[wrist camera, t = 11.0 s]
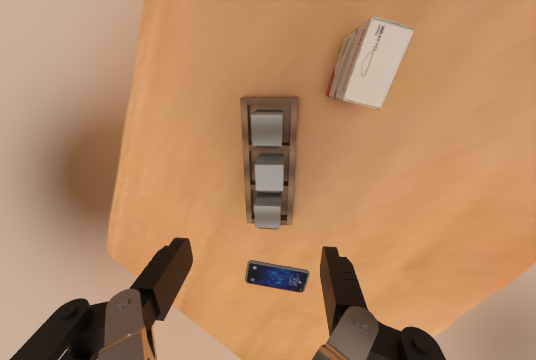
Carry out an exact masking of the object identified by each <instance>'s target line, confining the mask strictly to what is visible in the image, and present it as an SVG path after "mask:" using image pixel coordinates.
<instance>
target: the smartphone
mask: <svg viewBox="0 0 536 360" xmlns="http://www.w3.org/2000/svg"><path fill="white" fill-rule="evenodd" d="M308 277H309V272H308V271H307V270H303V269H297V268H291V267H286V266H280V265H275V264H269V263H264V262H258V261H252V260H251V261H249V262H248V265H247V271H246V278H245V280H246V282H247V283H250V284H255V285H261V286H266V287H272V288H277V289H283V290H288V291H294V292H299V293H301V292H304V290H305V287H306V284H307V280H308Z"/></svg>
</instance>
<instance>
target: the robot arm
mask: <svg viewBox="0 0 536 360" xmlns="http://www.w3.org/2000/svg"><path fill="white" fill-rule="evenodd" d="M192 263H193V256H192V251H191V246H190V241H189V239H188V238H174V239H173V241H172V242H171V243H170V245H169V246H164V247H163V248H162V249H160V250H159V251H158V252H157V253H156V254H155V256H154V257H153V258H152V260H151V261H150V262H149V263H148V266H146V267H145V269H144V270H143V271H142V273H141V274H140V275H139V277H138V278H137V279H136V281H135V282H134V283H133V285H132V286H131V287H130V289H126V290H123V291H121V292H119V293H118V294H116V295H115V296H113V297H112V298H111V299H110V301H108V302H103V303H99V304H94V305H90V304H89V303H88V301H87V300H86V299H75V300H72V301H70V302H68V303H66V304H64V305H62V306H61V307H60V308H58V309H57V310H56V311H55V312H54V313H53V314H52V315H51V316H50V317H49V319H48V320H47V321H46V322H45V323H44V324H43V325H42V326H41V327H40V328H39V329H38V330H37V331H36V332H35V333H34V334H33V335H32V337H31V338H30V339H29V340H28V341H27V342H26V343H25V344H24V345H23V346H22V347H21V349H19V350H18V352H17V353H16V354H15V355H14V356H13V357H12V358H11V359H10V360H58V359H59V358H60V356H61V355H62V354H63V353H64V351H65V350H66V349H67V351H66V352H65V353H64V355H63V356H62V357H61V359H60V360H97V359H98V360H157V356H156V348H155V341H154V335H153V329H152V325H153V324H154V322H155V320H160V321H164V319H165V317H166V315H167V313H168V311H169V309H170V307H171V305H172V304H173V302H174V300H175V298H176V296H177V294H178V292H179V290H180V288H181V286H182V284H183V282H184V280H185V278H186V277H187V275H188V273H189V271H190V269H191V266H192ZM320 278H321V284H322V290H323V297H324V303H325V310H326V316H327V322H328V329H329V335H330V338H329V339H328V341H327V343H326V344H325V345H322V346H321V347H320V348H319V349H318V351H317V352H316V354H315V356H314V357H313V359H312V360H446V359H445V357H444V355H443V353H442V351H441V349H440V347H439V345H438V344H437V342H436V341H435V340H434V339H433V338H432V337H431V336H430V335H429V334H428V333H426V332H425V331H423V330H421V329H419V328H416V327H406V328H404V329H403V330H402V332H401V331H399V330H396V329H394V328H391V327H388V326H386V325H384V324H382V323H380V322H379V321H377V320H376V318H375V317H374V316H373V314H372V313H371V312H369V310H368V308H367V306H366V303H365V300H364V297H363V294H362V291H361V288H360V285H359V282H358V279H357V276H356V274H355V271H354V268H353V265H352V263H351V262H350V261H349V260H348V259H347V257H339V254H338V250H337V248H336V247H327V246H323V248H322V256H321V263H320Z"/></svg>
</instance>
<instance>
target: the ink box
mask: <svg viewBox="0 0 536 360" xmlns="http://www.w3.org/2000/svg"><path fill="white" fill-rule="evenodd" d="M413 32H414V28H411V27H408V26H406V25H403V24H400V23H396V22H393V21H390V20H386V19H383V18H379V17H376V16H373V17H372V18H371V19H369V20H368V21H367V22H365V23H364V24H363V25H361V26H360V27H359V28H357V29H356V30H355V31H353V32H352V33H351V34H349V35H348V36H347V37H345V38H344V41H343V44H342V47H341V50H340V53H339V56H338V59H337V63H336V66H335V69H334V72H333V75H332V78H331V81H330V84H329V87H328V90H327V94H326V95H327V96H328V97H331V98H335V99H339V100H343V101H346V102H350V103H354V104H358V105H362V106H366V107H370V108H374V109H381V107H382V104H383V102H384V99H385V97H386V95H387V92H388V90H389V88H390V85H391V83H392V81H393V78H394V76H395V74H396V72H397V69H398V67H399V65H400V62H401V60H402V58H403V55H404V53H405V51H406V48H407V46H408V44H409V41H410V39H411V37H412V34H413Z"/></svg>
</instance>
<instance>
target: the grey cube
mask: <svg viewBox="0 0 536 360" xmlns="http://www.w3.org/2000/svg"><path fill="white" fill-rule="evenodd" d="M255 182H256V190H258V191H259V192H274V193H280V192H281V191H283V183H284V154H259V156H258V158H257V161H256V163H255Z"/></svg>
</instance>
